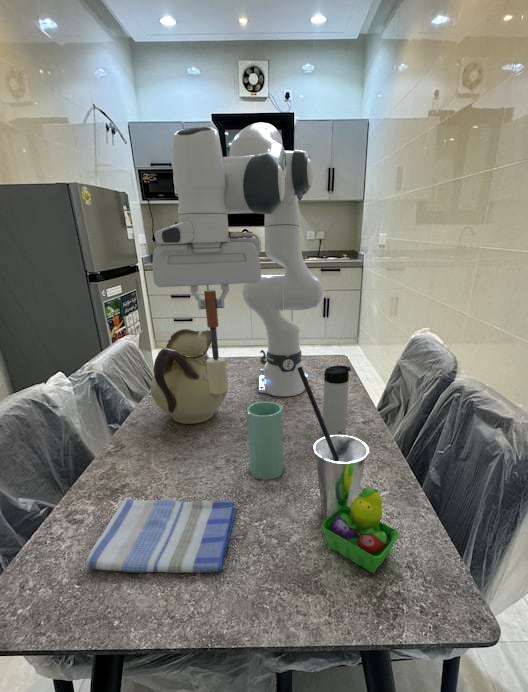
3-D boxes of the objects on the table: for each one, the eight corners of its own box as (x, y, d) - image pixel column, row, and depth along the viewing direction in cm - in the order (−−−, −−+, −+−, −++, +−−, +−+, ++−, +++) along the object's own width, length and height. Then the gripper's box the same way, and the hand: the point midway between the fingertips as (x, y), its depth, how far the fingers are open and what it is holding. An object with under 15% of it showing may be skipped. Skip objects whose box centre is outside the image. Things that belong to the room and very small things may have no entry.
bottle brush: (208, 388, 84) (199, 289, 76) (227, 386, 85) (219, 289, 77) (209, 395, 81) (199, 292, 72) (228, 393, 82) (221, 291, 73)
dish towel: (125, 505, 80) (123, 494, 78) (238, 507, 78) (237, 496, 77) (82, 573, 64) (78, 560, 63) (222, 578, 62) (220, 565, 61)
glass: (296, 505, 79) (296, 366, 67) (344, 492, 82) (352, 358, 70) (321, 541, 69) (325, 387, 57) (373, 524, 73) (388, 376, 61)
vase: (247, 463, 93) (244, 403, 87) (279, 459, 95) (277, 399, 88) (253, 481, 86) (249, 418, 80) (286, 476, 88) (286, 414, 81)
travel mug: (345, 443, 101) (350, 372, 93) (321, 441, 102) (323, 370, 94) (347, 432, 107) (351, 364, 99) (323, 430, 108) (325, 362, 100)
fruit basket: (318, 547, 68) (319, 495, 63) (345, 521, 74) (349, 472, 69) (375, 583, 61) (381, 527, 56) (401, 551, 67) (408, 498, 62)
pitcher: (217, 396, 132) (211, 324, 122) (241, 424, 112) (236, 341, 102) (150, 409, 123) (137, 332, 113) (163, 441, 104) (149, 352, 94)
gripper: (257, 231, 75) (260, 302, 81) (148, 233, 71) (159, 308, 77) (263, 231, 69) (265, 308, 75) (145, 233, 66) (157, 314, 71)
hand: (211, 308), depth 76 cm, fingers closed on bottle brush, 2 cm apart
